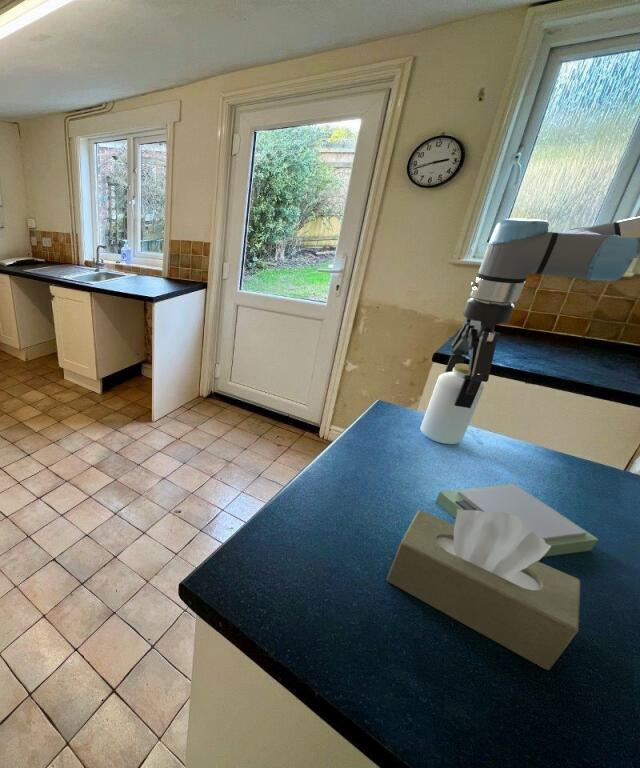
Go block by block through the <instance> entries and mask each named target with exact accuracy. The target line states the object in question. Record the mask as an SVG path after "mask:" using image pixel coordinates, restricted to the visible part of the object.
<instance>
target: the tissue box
mask: <svg viewBox="0 0 640 768" xmlns="http://www.w3.org/2000/svg"><path fill="white" fill-rule="evenodd" d="M456 509H457V508H456ZM550 547H551V546H550V545H548V544H546V543H545V540H544V539H543V538H541V537H540V536H539V535H537V534H536V533H534V532H532V531H531V530H529V529H528V528H526V527H525V526H523V524H522V522H521V520H520V519H518V518H517V517H516V516H513V515H511V514H508V513H504V512H483V511H476V510H461V509H457V516H456V519H455V522H454V524H453V523H451V522H449V521H447V520H444V519H442V518H440V517H437V516H435V515H433V514H430V513H428V512H426V511H423V510H421V509H418V510H417V511H416V513H415V515H414V517H413V519H412V521H411V522H410V524H409V526H408V527H407V530H406V532H405V534H404V535H403V537H402V539H401V541H400V543H399V544H398V547H397V549H396V550H395V551H396V552H395V554H394V557H393V560H392V563H391V566H390V568H389V571H388V574H387V576H386V581H387V582H388V583H389V584H392V585H393V586H395V587H397V588H399V589H401V590H402V591H404V592H406V593H407V594H410V595H411V596H413V597H415V598H416V599H418V600H420V601H422V602H424V603H425V604H427V605H429V606H431V607H433V608H434V609H436V610H438V611H439V612H442V613H443V614H445V615H446V616H449V617H451V618H452V619H454V620H456V621H458V622H459V623H462V624H463V625H465V626H466V627H469V628H470V629H472V630H474V631H475V632H477V633H479V634H481V635H483V636H484V637H486V638H488V639H490V640H492V641H493V642H495V643H497V644H499V645H501V646H503V647H504V648H505V649H508V650H509V651H511V652H513V653H515V654H517V655H518V656H520V657H522V658H524V659H526V660H527V661H530V662H531V663H533V664H535V665H536V664H537V666H539V667H540V668H542V669H544V670H545V669H546V671H550V670H551V669H552V667H553V666H554V665H555V663H556V662H557V660H558V659H559V658H560V657H561V655H562V654H563V653H564V652H565V650H566V648H567V647H568V646H569V645H570V644H571V642H572V641H573V639H574V638H575V637H576V635H577V633H578V632H579V628H580V627H579V625H580V624H579V623H580V606H581V605H580V603H581V602H580V601H581V583H582V581H581V580H580V579H579V578H577V577H575V576H573V575H570V574H568V573H566V572H563V571H562V570H559V569H556V568H553V567H552V566H550V565H547V564H545V563H543V562H541V561H540V560H541V559H542V558H544V557H543V556H544V555H545V554H546V553H547V551H548V550H549V549H550Z"/></svg>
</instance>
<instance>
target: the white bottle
mask: <svg viewBox="0 0 640 768" xmlns="http://www.w3.org/2000/svg"><path fill="white" fill-rule="evenodd" d="M468 370H469V363H468V364H467V363H464V364H455V367H454V368H453V372H446V373H445V372H443V373H441V374H439V376H438V377H437V380H436V382H435V386H434V389H433V391H432V394H431V397H430V400H429V403H428V405H427V407H426V411H425V414H424V417H423V419H422V422H421V425H420V429H419V430H420V431H421V433H422V435H423V436H425V438H427V439H429V440H431V441H434V442H436V443H440V444H443V445H444V444H445V445H455V444H459V443H461V442H462V441H463V439H464V438H465V435H466V433H467V430H468V427H469V425H470V423H471V421H472V418H473V415H474V414H475V412H476V408H477V407H478V404H479V402H480V399H481V396H482V394H483V391H484V389H485V384H484V382H481V384H480V387H479V389H478V392H477V394H476V396H475V399H474V401H473V403H472V406H471V408H466V407H460V406H455V405H454V403H455V401H456V398H457V396H458V393H459V391H460V388H461V386H462V383H463V381H464V379H463V376H465V375H468Z"/></svg>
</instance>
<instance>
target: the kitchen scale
mask: <svg viewBox="0 0 640 768" xmlns="http://www.w3.org/2000/svg"><path fill="white" fill-rule="evenodd" d="M434 501H435V503H436V504H437V505H439V506H440V507H441V508H442V509H443V510H444V511H445V512H447V513H448V514H449V515H450V516H451V517H452V518H454V519H455V520H456V516H457V509H461V510H476V511H483V512H504V513H508V514H511V515H513V516H516V517H517V518H518V519H520V520H521V522H522V524H523V526H525V527H526V528H528V529H529V530H531V531H532V532H534V533H536V534H537V535H539V536H540V537H541V538H543V539H544V540H545V543H546V544H548V545H550V546H551V547H550V549H549V550H548V551H547V553H546V554H545V555H544V556H543V557H542V558H546V557H553V556H559V555H568V554H574V553H583V552H590V551H592V550H593V548H594V547H595V545H596V544H597V542H598V541H599V539H598V538H597V536H594V535H593V534H591V533H590V532H588V531H587V530H585V529H584V528H583V527H581V526H580V525H578V524H576V523H575V522H573V521H572V520H570V519H569V518H567V517H566V516H564V515H562V514H561V513H560V512H558V511H557V510H556V509H554V508H552V507H551V506H549V505H548V504H546V503H545V502H543V501H542V500H540V499H539V498H537V497H536V496H534V495H533V494H532V493H530V492H528V491H527V490H525V489H524V488H522V487H521V486H519V485H517V484H516V483H507V484H498V485H497V484H496V485H488V486H487V485H486V486H479V487H478V486H477V487H470V488H469V487H468V488H460V489H451V490H442V491H439V492H438V493H437V497H436V499H435V500H434ZM456 508H457V509H456Z"/></svg>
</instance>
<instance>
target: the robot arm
mask: <svg viewBox="0 0 640 768" xmlns="http://www.w3.org/2000/svg"><path fill="white" fill-rule="evenodd" d="M549 226H550V222H549V221H548V220H544V219H533V218H532V219H531V218H505V219H502V220H501V221H499V222H498V223H497V224H496V226H495V228H494V230H493V232H492V235H491V237H490V240H489V242H488V244H487V247H486V249H485V253H484V256H483V258H482V260H481V264H480V266H479V270H478V272H477V275H476V278H475V281H473V282H470V287H471V288H472V289H471V292H470V297H471V298H469V299H467V302H466V304H465V307H464V309H463V312H462V315H463V317H464V318H465V320H464V322H463V324H462V326H461V327H460V329H459V330H458V333H457V334H456V336H455V338H454V340H453V341H452V343H451V345H450V349H451V354H450V357H449V360H448V363H447V365H446V367H445V369H444V373H446V372H453V368H454V367H455V364H465V361H466V358H467V357H469V363H468V365H469V370H468V375H465V376H463V379H464V381H463V383H462V386H461V388H460V391H459V393H458V396H457V398H456V401H455V403H454V405H455V406H460V407H466V408H471V406H472V403H473V401H474V399H475V396H476V394H477V392H478V389H479V387H480V384H481V382H483V383H487V382H488V381H489V379H490V373H491V369H492V364H493V361H494V355H495V351H496V346H497V343H498V340H499V338H500V332H496V331H495V326H496V325H499V324H500V325H502V324H506V323H508V322H509V321H510V319H511V317H512V314H513V311H514V309H515V307H516V306H515V305H514V303H517V302H518V301H519V299H520V296H521V294H522V291H523V288H524V286H525V284H526V281H527V277H528V276H529V274H533V275H542V276H543V275H546V276H551V277H562V278H571V279H579V280H588V281H590V282H593V281H603V282H614V281H618V280H620V279H621V278H622V277H624V275H625V274H626V273H627V271H628V270H629V268H630V266H632V263H633V261H634V259H638V258H640V216H636V217H630V218H626V219H622V220H617V221H614V222H613V221H612V222H607V223H602V224H598V225H594V226H578V227H575V228H571V229H568V230H566V231H564V232H555V231H549Z"/></svg>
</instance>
